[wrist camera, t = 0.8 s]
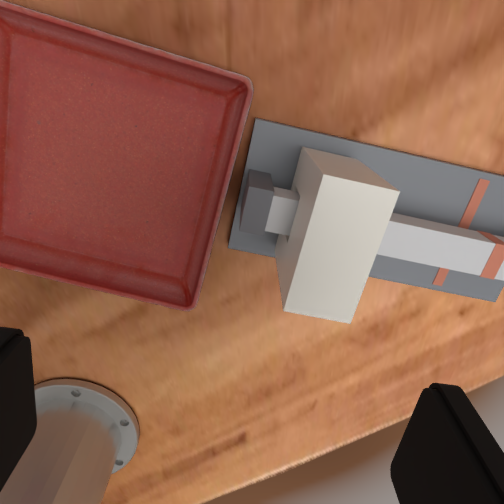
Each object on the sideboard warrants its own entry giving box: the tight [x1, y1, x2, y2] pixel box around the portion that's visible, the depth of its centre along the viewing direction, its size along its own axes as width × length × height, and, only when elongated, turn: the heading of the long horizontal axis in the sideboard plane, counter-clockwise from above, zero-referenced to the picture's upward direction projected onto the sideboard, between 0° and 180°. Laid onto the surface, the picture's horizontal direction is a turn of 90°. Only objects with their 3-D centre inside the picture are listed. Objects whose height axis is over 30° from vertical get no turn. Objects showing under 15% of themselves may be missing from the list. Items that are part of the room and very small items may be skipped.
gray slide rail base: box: [228, 118, 504, 302], centre depth 29 cm, size 10×23×6 cm, turn 77°
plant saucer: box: [0, 0, 254, 311], centre depth 30 cm, size 18×18×3 cm
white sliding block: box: [275, 147, 400, 324], centre depth 26 cm, size 8×4×9 cm, turn 167°
